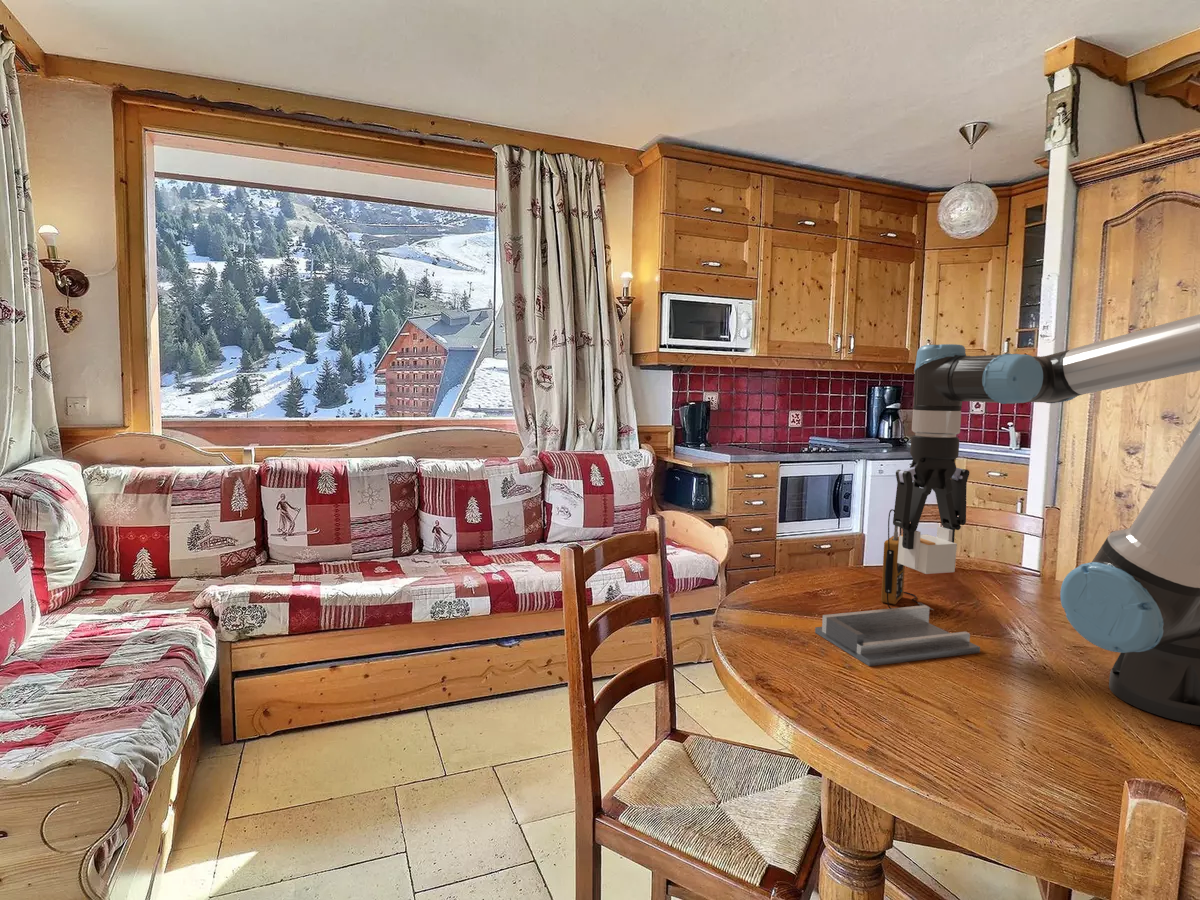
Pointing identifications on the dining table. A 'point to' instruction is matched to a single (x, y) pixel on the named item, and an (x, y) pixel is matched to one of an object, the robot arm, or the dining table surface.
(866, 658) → the rail base
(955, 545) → the block
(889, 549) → the multimeter
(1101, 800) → the dining table surface
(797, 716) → the dining table surface
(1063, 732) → the dining table surface
